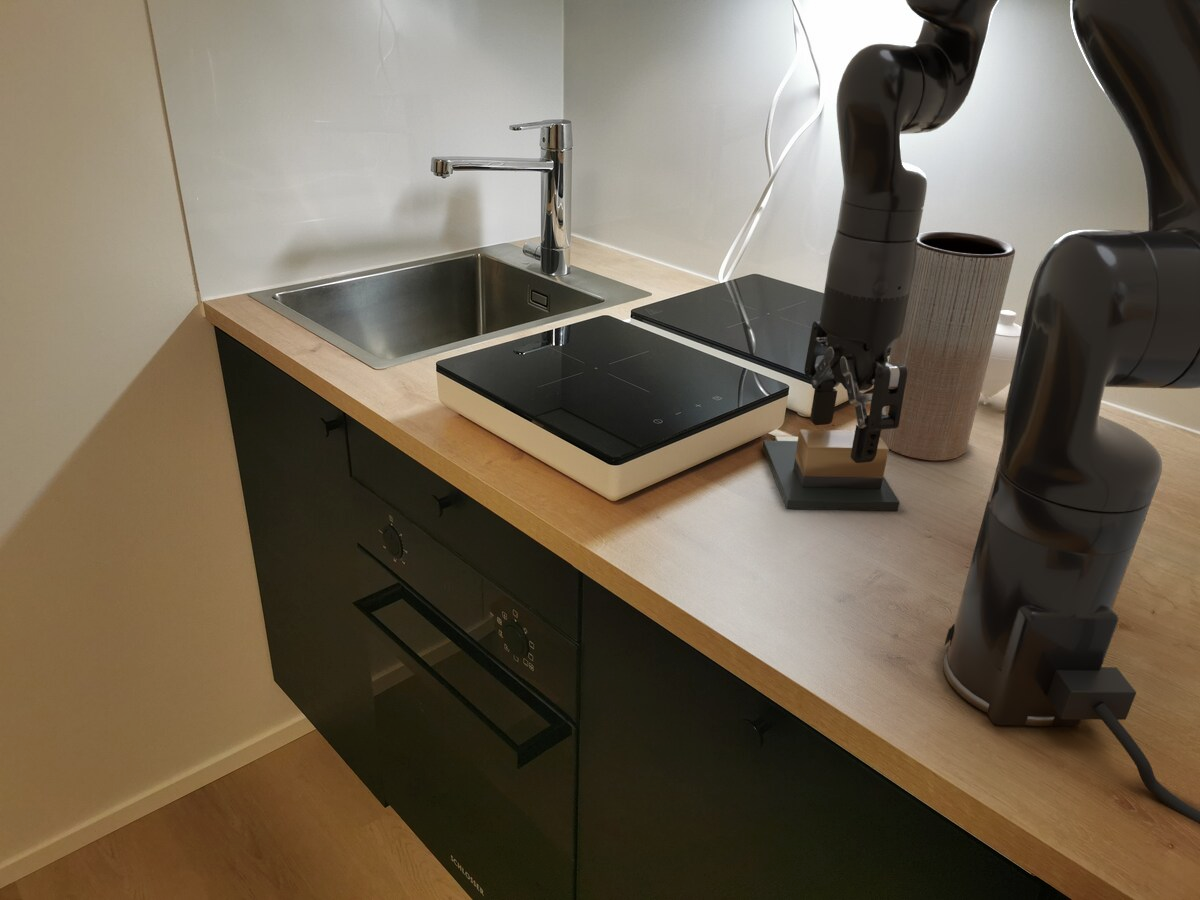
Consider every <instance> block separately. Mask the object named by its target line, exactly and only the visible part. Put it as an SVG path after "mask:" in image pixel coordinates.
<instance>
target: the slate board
mask: <svg viewBox="0 0 1200 900" xmlns="http://www.w3.org/2000/svg"><path fill="white" fill-rule="evenodd" d="M797 442H798V441H776V440H763V441H762V451H763V453H764V456H765V458H766V460H767V464H768V465H769V468H770V471H771V474H772V475H773V478H774V480H775V483H776V486H777V488H778V490H779V494H780V495H781V498H782V501H783V503H784V506H785V508H786V509H787V510H830V511H831V510H832V511H833V510H835V511H836V510H837V511H883V512H885V511H888V512H889V511H890V512H891V511H892V512H898V511H899V507H900V501H899V499H898V497H897V496H896V494H895V492H894V491H893V490H892V488H891V486H890V484H889V483H888V481H887V479H886V478H885V476H883V481H882V486H881V489H875V488H825V487H802V486H801V484H800V481H799V479H798V477H797V475H796V472H795V470H794V462H795V455H796V449H797Z"/></svg>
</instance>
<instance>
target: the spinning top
mask: <svg viewBox="0 0 1200 900" xmlns="http://www.w3.org/2000/svg"><path fill="white" fill-rule="evenodd" d="M1016 317H1017V312H1015V311H1013V310H1009V309H1001V313H1000V317H999V321H998V325H997V329H996V333H995V337H994V341H993V345H992V349H991V353H990V357H989V361H988V365H987V370H986V374H985V378H984V382H983V386H982V390H981V395H982V396H983V397H984V401H983V404H984V405H987V404H988V401H989V398H992V397H993V396H995V395H997V394H999V392H1001V391H1003V390H1004V389H1006V387H1008V386H1010V383H1011V379H1012V374H1013V369H1014V364H1015V360H1016V355H1017V350H1018V344H1019V339H1020V334H1021V328H1022V325H1021V326H1020V325H1019V324H1017V323H1015V320H1016Z"/></svg>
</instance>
